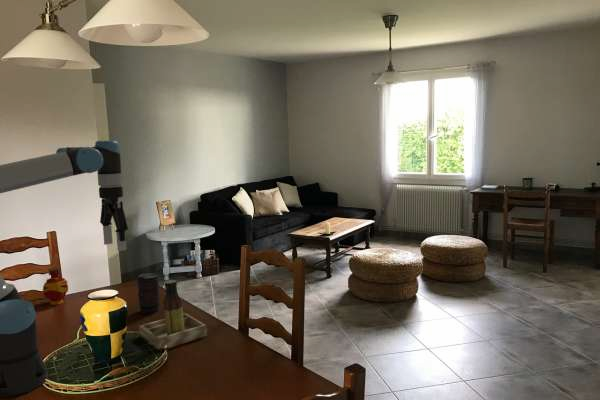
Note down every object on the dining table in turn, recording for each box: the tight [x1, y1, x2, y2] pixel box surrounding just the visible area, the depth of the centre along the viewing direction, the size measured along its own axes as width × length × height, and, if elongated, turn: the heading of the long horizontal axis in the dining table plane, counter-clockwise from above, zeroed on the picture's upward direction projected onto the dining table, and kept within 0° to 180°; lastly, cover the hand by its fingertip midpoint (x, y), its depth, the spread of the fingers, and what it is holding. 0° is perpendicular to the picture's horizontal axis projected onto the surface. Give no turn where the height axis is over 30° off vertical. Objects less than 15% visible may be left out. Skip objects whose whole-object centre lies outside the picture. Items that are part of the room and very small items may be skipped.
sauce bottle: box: [163, 279, 185, 336], centre depth 163 cm, size 6×6×20 cm
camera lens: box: [137, 272, 160, 315], centre depth 190 cm, size 8×8×15 cm
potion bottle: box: [41, 267, 69, 306], centre depth 202 cm, size 10×10×15 cm
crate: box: [138, 312, 208, 349], centre depth 165 cm, size 18×16×4 cm
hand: (115, 247), depth 162 cm, fingers open, 13 cm apart
